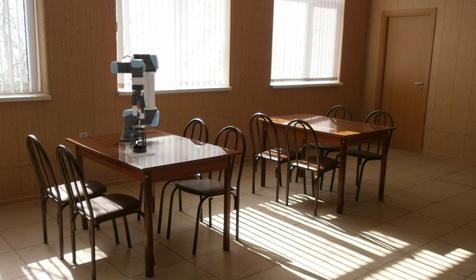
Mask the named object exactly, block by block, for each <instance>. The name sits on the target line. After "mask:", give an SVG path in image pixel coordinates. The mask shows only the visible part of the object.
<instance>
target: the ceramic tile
mask: <svg viewBox="0 0 476 280" xmlns="http://www.w3.org/2000/svg"><path fill="white" fill-rule="evenodd" d="M123 154H125V155H126V156H128V157H130V158H138V157H148V156H155V154H156V153H155V152H154V151H152V150H151V149H148V148H147V152H145V153H134V152H133V149H131V150H129V149H128V150H123Z"/></svg>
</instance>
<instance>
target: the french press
mask: <svg viewBox="0 0 476 280" xmlns="http://www.w3.org/2000/svg"><path fill="white" fill-rule="evenodd" d="M136 118H139V125H135V126H132V127H133V130H136V131H139V132H137V133H133V135H130V141H129V142H130V144H129V146H130V149H131V150H133V152H134V153H145V152H147V149H148V148H147V135H148V134H147V133H146V132H141V131H146V129H147V127H148V126H145V125H140V117H136ZM137 134H139V135H137ZM140 134H141V135H140ZM132 136H133V141H132ZM137 137H139V141H138V139H137ZM140 137H142V139H141V140H140Z"/></svg>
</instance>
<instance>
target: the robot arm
mask: <svg viewBox="0 0 476 280" xmlns="http://www.w3.org/2000/svg"><path fill="white" fill-rule="evenodd" d="M157 70H159V60H158V55H157V53H152V52H149V53H148V52H147V53H146V52H144V53H143V52H140V53H139V52H134V53H128V54H126V55H124V56H123V57H122V59H121V60H119V61H111V63H110V71H111V73H112V74H131V79H130V80H131V90H132V94H131V102H130V104H131V106H132V108H131V109H129V108H128V109H124V110H123V112H122V128H123V129H122V133H121V136H120V140H121V141H123V142H130V135H133V133H137V132H139V131H136V130H133V127H132V126H135V125H139V118H136V117H140V125H145V126H147V127H156V126H157V125H158V124H159V119H160V110H158V108H157V107H156V91H155V90H156V89H155V86H156V85H155V84H156V83H155V81H156V80H155V79H156V78H155V74H156V73H157ZM138 104H139V108H138ZM137 135H139V134H137ZM140 135H142V134H140ZM137 139H138V141H139V137H137ZM140 141H142V137H140ZM132 142H133V136H132Z"/></svg>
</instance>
